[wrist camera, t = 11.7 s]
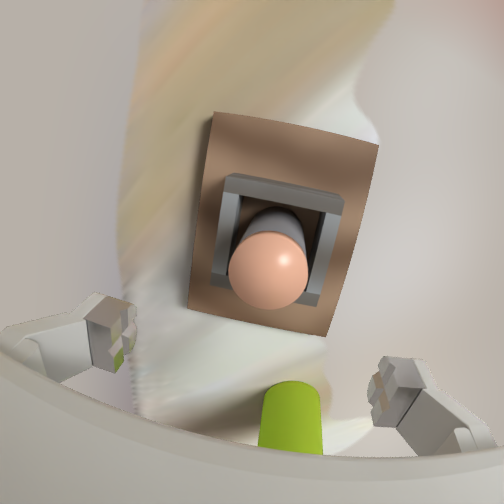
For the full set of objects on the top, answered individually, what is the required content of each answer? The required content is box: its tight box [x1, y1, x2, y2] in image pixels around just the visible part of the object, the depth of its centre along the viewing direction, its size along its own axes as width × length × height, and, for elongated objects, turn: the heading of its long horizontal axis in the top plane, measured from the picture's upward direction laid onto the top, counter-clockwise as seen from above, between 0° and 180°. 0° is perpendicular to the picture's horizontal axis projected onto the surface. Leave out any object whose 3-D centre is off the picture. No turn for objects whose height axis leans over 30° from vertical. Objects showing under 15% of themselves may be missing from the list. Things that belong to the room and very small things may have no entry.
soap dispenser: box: [258, 381, 323, 455], centre depth 21 cm, size 6×7×20 cm
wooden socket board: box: [187, 112, 379, 337], centre depth 23 cm, size 16×12×4 cm
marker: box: [228, 206, 308, 310], centre depth 20 cm, size 4×4×8 cm
